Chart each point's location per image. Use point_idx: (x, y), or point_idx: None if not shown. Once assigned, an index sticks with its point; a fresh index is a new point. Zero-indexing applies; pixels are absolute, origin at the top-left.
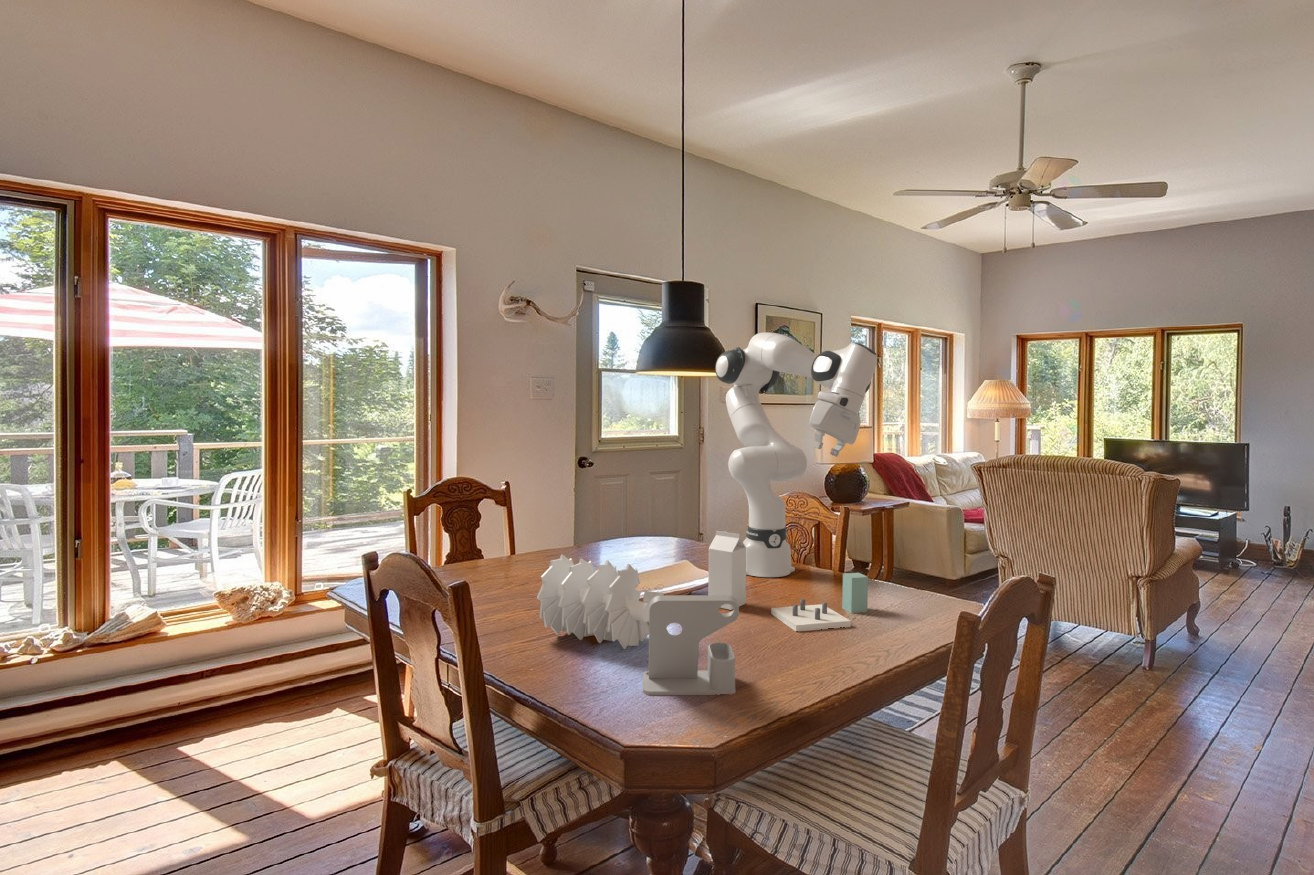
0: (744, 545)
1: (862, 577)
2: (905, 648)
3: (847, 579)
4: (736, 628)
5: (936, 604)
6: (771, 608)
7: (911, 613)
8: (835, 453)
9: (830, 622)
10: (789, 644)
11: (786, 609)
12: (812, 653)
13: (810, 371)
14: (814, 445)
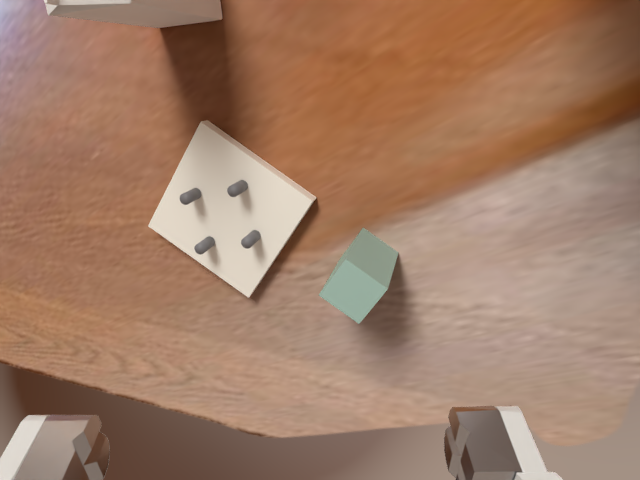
0: (115, 2)
1: (345, 313)
2: (222, 397)
3: (333, 274)
4: (85, 119)
5: (548, 389)
6: (200, 122)
7: (431, 360)
8: (448, 468)
9: (211, 270)
10: (98, 244)
11: (217, 155)
12: (96, 291)
13: None
14: (25, 434)
